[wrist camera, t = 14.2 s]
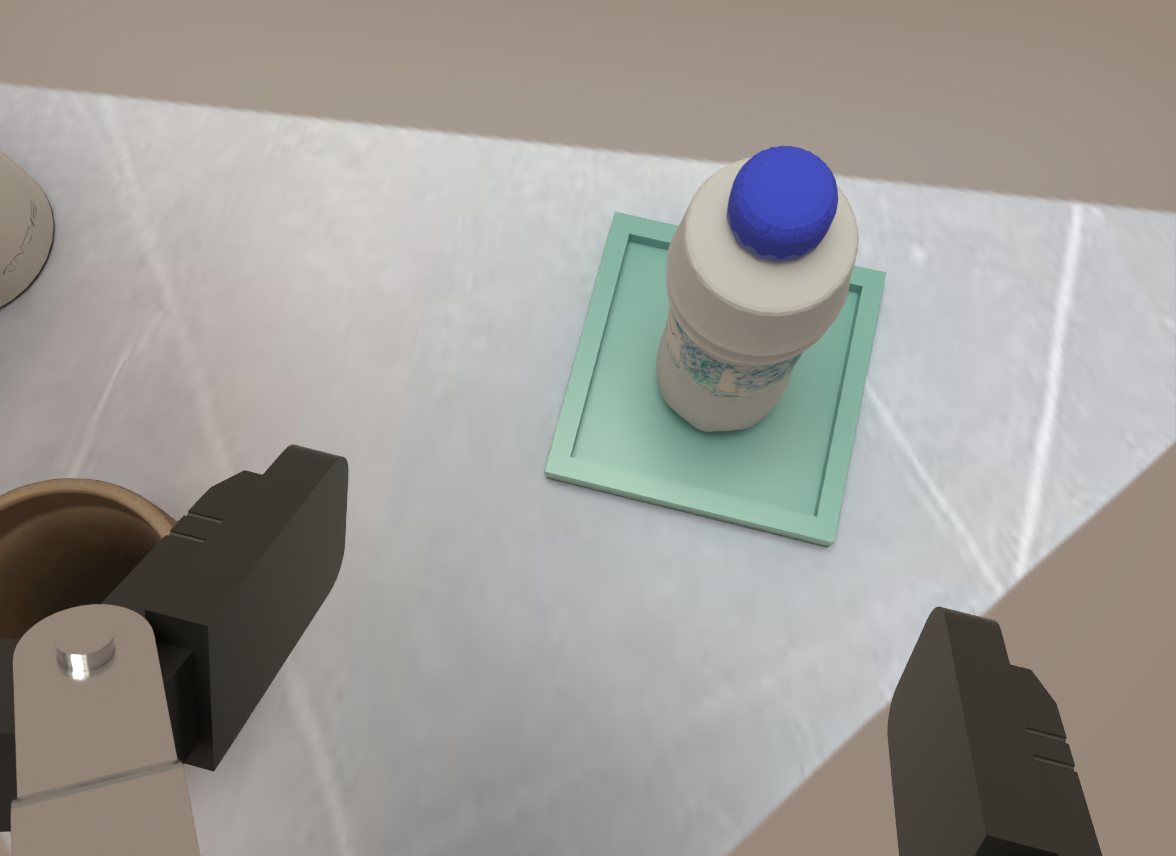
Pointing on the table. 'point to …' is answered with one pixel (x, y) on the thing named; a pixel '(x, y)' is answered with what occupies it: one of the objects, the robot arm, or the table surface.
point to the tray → (691, 456)
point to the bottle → (752, 285)
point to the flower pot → (69, 546)
